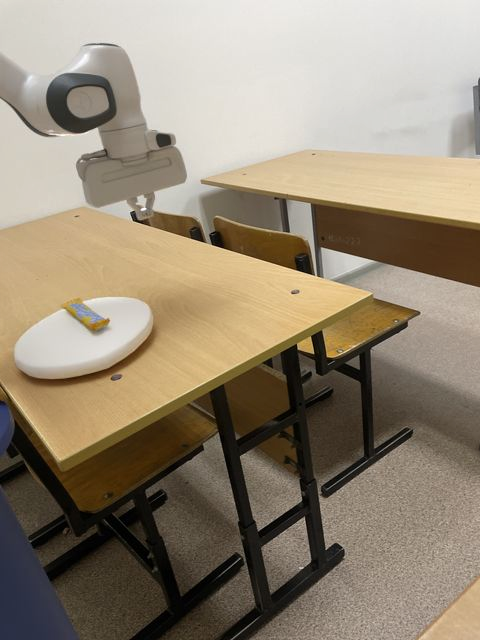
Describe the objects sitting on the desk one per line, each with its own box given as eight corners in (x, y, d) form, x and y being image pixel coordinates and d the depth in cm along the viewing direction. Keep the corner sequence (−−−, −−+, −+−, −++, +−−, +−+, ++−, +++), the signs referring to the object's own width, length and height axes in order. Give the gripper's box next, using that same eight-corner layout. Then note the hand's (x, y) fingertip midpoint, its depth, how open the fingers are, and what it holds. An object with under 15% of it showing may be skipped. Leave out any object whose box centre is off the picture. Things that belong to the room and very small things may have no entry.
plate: (116, 361, 88) (-21, 367, 94) (128, 391, 92) (-5, 395, 98) (165, 280, 110) (52, 289, 116) (173, 306, 114) (63, 314, 120)
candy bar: (113, 326, 98) (110, 317, 97) (92, 334, 96) (89, 325, 95) (82, 303, 110) (79, 295, 109) (62, 310, 108) (59, 302, 107)
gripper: (79, 157, 90) (102, 236, 97) (182, 133, 100) (197, 206, 106) (66, 155, 94) (90, 231, 101) (166, 132, 104) (181, 202, 111)
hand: (145, 218), depth 104 cm, fingers closed
